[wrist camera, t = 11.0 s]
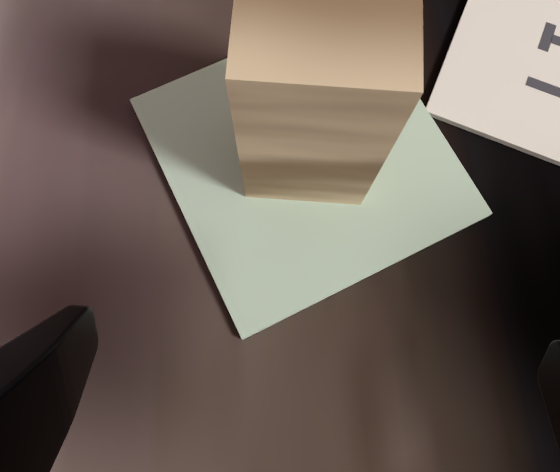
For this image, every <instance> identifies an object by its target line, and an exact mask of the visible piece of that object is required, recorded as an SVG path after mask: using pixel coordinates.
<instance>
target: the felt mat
mask: <svg viewBox="0 0 560 472" xmlns="http://www.w3.org/2000/svg"><path fill="white" fill-rule="evenodd" d="M226 66H227V58H226V59H224V60H221V61H219V62H217V63H214V64H212V65H210V66H207V67H205V68H203V69H200V70H198V71H195V72H193V73H191V74H188V75H186V76H184V77H181V78H179V79H176V80H174V81H172V82H169V83H167V84H165V85H162V86H160V87H158V88H155V89H153V90H150V91H148V92H146V93H143V94H141V95H139V96H136V97H134V98H131V99H130V102H131V104H132V106H133V108H134V110H135V112H136V114H137V117H138V119H139V121H140V123H141V125H142V127H143V129H144V131H145V134H146V136H147V138H148V140H149V142H150V144H151V146H152V149H153V151H154V153H155V155H156V157H157V159H158V161H159V164H160V166H161V168H162V170H163V172H164V174H165V176H166V178H167V181H168V183H169V185H170V187H171V189H172V191H173V193H174V196H175V198H176V200H177V202H178V204H179V206H180V208H181V211H182V213H183V215H184V217H185V219H186V221H187V223H188V225H189V228H190V230H191V232H192V234H193V236H194V238H195V240H196V243H197V245H198V247H199V249H200V251H201V253H202V255H203V257H204V260H205V262H206V264H207V266H208V268H209V270H210V272H211V275H212V277H213V279H214V281H215V283H216V285H217V287H218V290H219V292H220V294H221V296H222V298H223V300H224V302H225V304H226V307H227V309H228V311H229V313H230V315H231V317H232V319H233V322H234V324H235V326H236V328H237V330H238V332H239V334H240V337H241V339H242V340H244V339H246V338H248V337H250V336H252V335H253V334H255V333H257V332H259V331H261V330H263V329H265V328H267V327H269V326H271V325H273V324H275V323H277V322H279V321H281V320H283V319H285V318H287V317H289V316H291V315H293V314H295V313H297V312H299V311H301V310H303V309H305V308H307V307H309V306H311V305H313V304H315V303H317V302H319V301H321V300H323V299H325V298H327V297H329V296H331V295H333V294H335V293H337V292H339V291H341V290H343V289H345V288H347V287H349V286H351V285H353V284H355V283H357V282H359V281H361V280H363V279H365V278H367V277H369V276H371V275H373V274H375V273H377V272H379V271H381V270H383V269H385V268H387V267H388V266H390V265H392V264H394V263H396V262H398V261H400V260H402V259H404V258H406V257H408V256H410V255H412V254H414V253H416V252H418V251H420V250H422V249H424V248H426V247H428V246H430V245H432V244H434V243H436V242H438V241H440V240H442V239H444V238H446V237H448V236H450V235H452V234H454V233H456V232H458V231H460V230H462V229H464V228H466V227H468V226H470V225H472V224H474V223H476V222H478V221H480V220H482V219H484V218H486V217H488V216H489V215H491V214H492V211H491V210H490V208H489V207H488V205H487V204H486V202H485V200H484V199H483V197H482V196H481V194H480V193H479V191H478V189H477V188H476V186H475V185H474V183H473V181H472V180H471V178H470V177H469V175H468V174H467V172H466V170H465V169H464V167H463V166H462V164H461V163H460V161H459V159H458V158H457V156H456V155H455V153H454V151H453V150H452V148H451V147H450V145H449V144H448V142H447V140H446V139H445V137H444V136H443V134H442V133H441V131H440V129H439V128H438V126H437V125H436V123H435V121H434V120H433V118H432V117H431V115H430V114H429V112H428V110H427V109H426V107H425V106H424V104H423V103H422V101H421V99H420V100H419V101H418V103H417V105H416V107H415V109H414V110H413V112H412V114H411V116H410V118H409V119H408V121H407V123H406V125H405V126H404V128H403V130H402V132H401V134H400V135H399V137H398V139H397V141H396V143H395V144H394V146H393V148H392V150H391V151H390V153H389V155H388V157H387V159H386V160H385V162H384V164H383V166H382V168H381V169H380V171H379V173H378V175H377V176H376V178H375V180H374V182H373V184H372V185H371V187H370V189H369V191H368V193H367V194H366V196H365V198H364V200H363V201H362V203H361V205H355V204H341V203H326V202H312V201H298V200H283V199H269V198H255V197H245V191H244V185H243V179H242V174H241V168H240V162H239V156H238V151H237V145H236V139H235V134H234V128H233V122H232V116H231V111H230V105H229V99H228V93H227V88H226V82H225V75H226Z"/></svg>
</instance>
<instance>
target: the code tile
mask: <svg viewBox="0 0 560 472" xmlns="http://www.w3.org/2000/svg"><path fill="white" fill-rule="evenodd" d="M426 109H427V110H428V112H429V114H430V115H431V117H432V118H435V119H438V120H440V121H443V122H446V123H448V124H451V125H453V126H456V127H459V128H461V129H464V130H467V131H469V132H472V133H474V134H477V135H480V136H482V137H485V138H488V139H490V140H493V141H495V142H498V143H501V144H503V145H506V146H509V147H511V148H514V149H516V150H519V151H522V152H524V153H527V154H529V155H532V156H535V157H537V158H540V159H543V160H545V161H548V162H550V163H553V164H556V165H558V166H560V0H467V3H466V5H465V8H464V10H463V13H462V15H461V18H460V21H459V23H458V26H457V28H456V31H455V33H454V36H453V39H452V41H451V44H450V46H449V49H448V51H447V54H446V57H445V59H444V62H443V64H442V67H441V69H440V72H439V75H438V77H437V80H436V82H435V85H434V87H433V90H432V93H431V95H430V98H429V100H428V103H427V105H426Z"/></svg>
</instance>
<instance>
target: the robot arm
mask: <svg viewBox="0 0 560 472" xmlns="http://www.w3.org/2000/svg"><path fill="white" fill-rule="evenodd" d="M97 347H98V335H97V329H96V324H95V318H94V313H93V310H92V308H91V307H89V306H80V305H70V306H67V307H65V308H64V309H62V310H60V311H59V312H57V313H56V314H54V315H52V316H51V317H49V318H47V319H46V320H44V321H42V322H41V323H39V324H38V325H36V326H34V327H33V328H31V329H29V330H28V331H26V332H24V333H23V334H21V335H20V336H18V337H16V338H15V339H13V340H11V341H10V342H8V343H7V344H5V345H3V346H2V347H0V472H50V470H51V468H52V466H53V464H54V461H55V459H56V457H57V455H58V453H59V451H60V449H61V446H62V444H63V442H64V440H65V438H66V436H67V433H68V431H69V429H70V426H71V424H72V422H73V419H74V417H75V414H76V411H77V408H78V405H79V402H80V399H81V396H82V393H83V390H84V387H85V384H86V381H87V378H88V375H89V372H90V369H91V366H92V363H93V360H94V357H95V354H96V351H97ZM537 380H538V384H539V388H540V391H541V394H542V397H543V401H544V404H545V407H546V411H547V414H548V417H549V421H550V424H551V427H552V431H553V434H554V437H555V441H556V444H557V447H558V450H559V453H560V340H553V341H552V342H551V343H550V344H549V346H548V348H547V351H546V353H545V355H544V357H543V359H542V362H541V364H540V366H539V368H538V373H537Z"/></svg>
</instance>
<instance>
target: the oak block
mask: <svg viewBox="0 0 560 472" xmlns="http://www.w3.org/2000/svg"><path fill="white" fill-rule="evenodd" d="M225 82H226V88H227V93H228V99H229V105H230V111H231V116H232V122H233V128H234V134H235V139H236V145H237V151H238V156H239V162H240V168H241V174H242V179H243V185H244V191H245V197H255V198H269V199H283V200H298V201H312V202H326V203H341V204H355V205H361V203H362V201H363V200H364V198H365V196H366V194H367V193H368V191H369V189H370V187H371V185H372V184H373V182H374V180H375V178H376V176H377V175H378V173H379V171H380V169H381V168H382V166H383V164H384V162H385V160H386V159H387V157H388V155H389V153H390V151H391V150H392V148H393V146H394V144H395V143H396V141H397V139H398V137H399V135H400V134H401V132H402V130H403V128H404V126H405V125H406V123H407V121H408V119H409V118H410V116H411V114H412V112H413V110H414V109H415V107H416V105H417V103H418V101H419V100H420V98H421V96H422V94H423V0H234V2H233V11H232V20H231V29H230V38H229V47H228V57H227V66H226V75H225Z"/></svg>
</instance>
